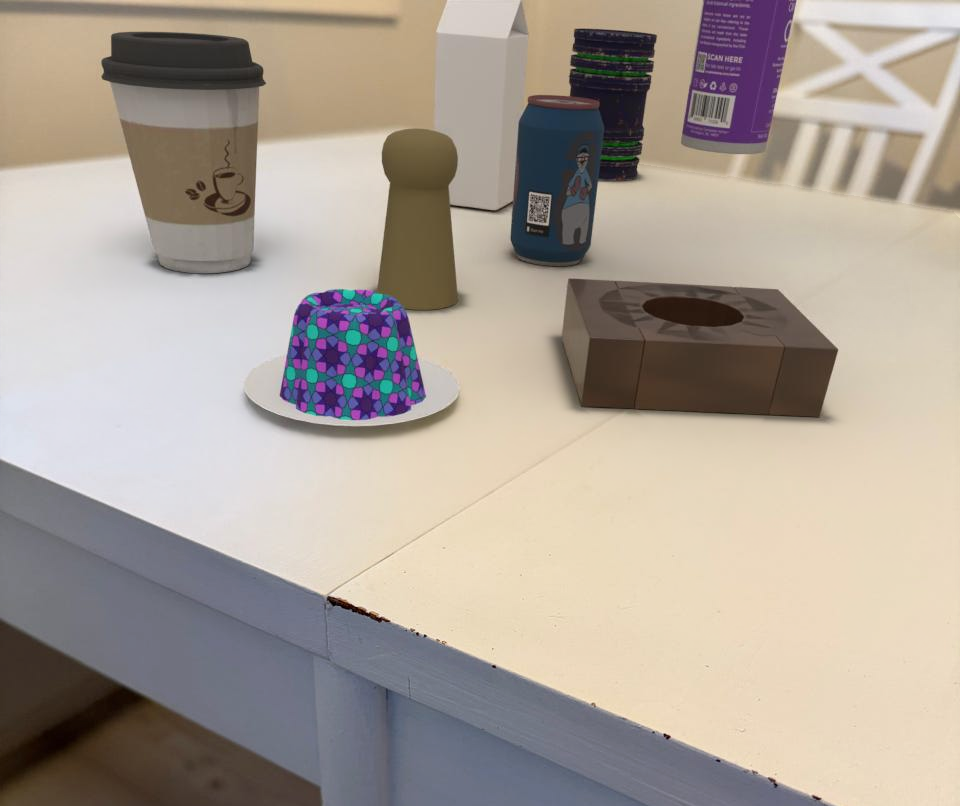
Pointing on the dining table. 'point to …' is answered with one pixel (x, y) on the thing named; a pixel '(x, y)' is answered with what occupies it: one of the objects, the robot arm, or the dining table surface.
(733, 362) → the socket board
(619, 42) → the black striped cylinder
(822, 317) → the dining table surface
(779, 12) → the container
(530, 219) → the soda can
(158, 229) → the coffee cup
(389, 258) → the cork
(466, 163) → the milk carton
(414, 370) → the pudding
